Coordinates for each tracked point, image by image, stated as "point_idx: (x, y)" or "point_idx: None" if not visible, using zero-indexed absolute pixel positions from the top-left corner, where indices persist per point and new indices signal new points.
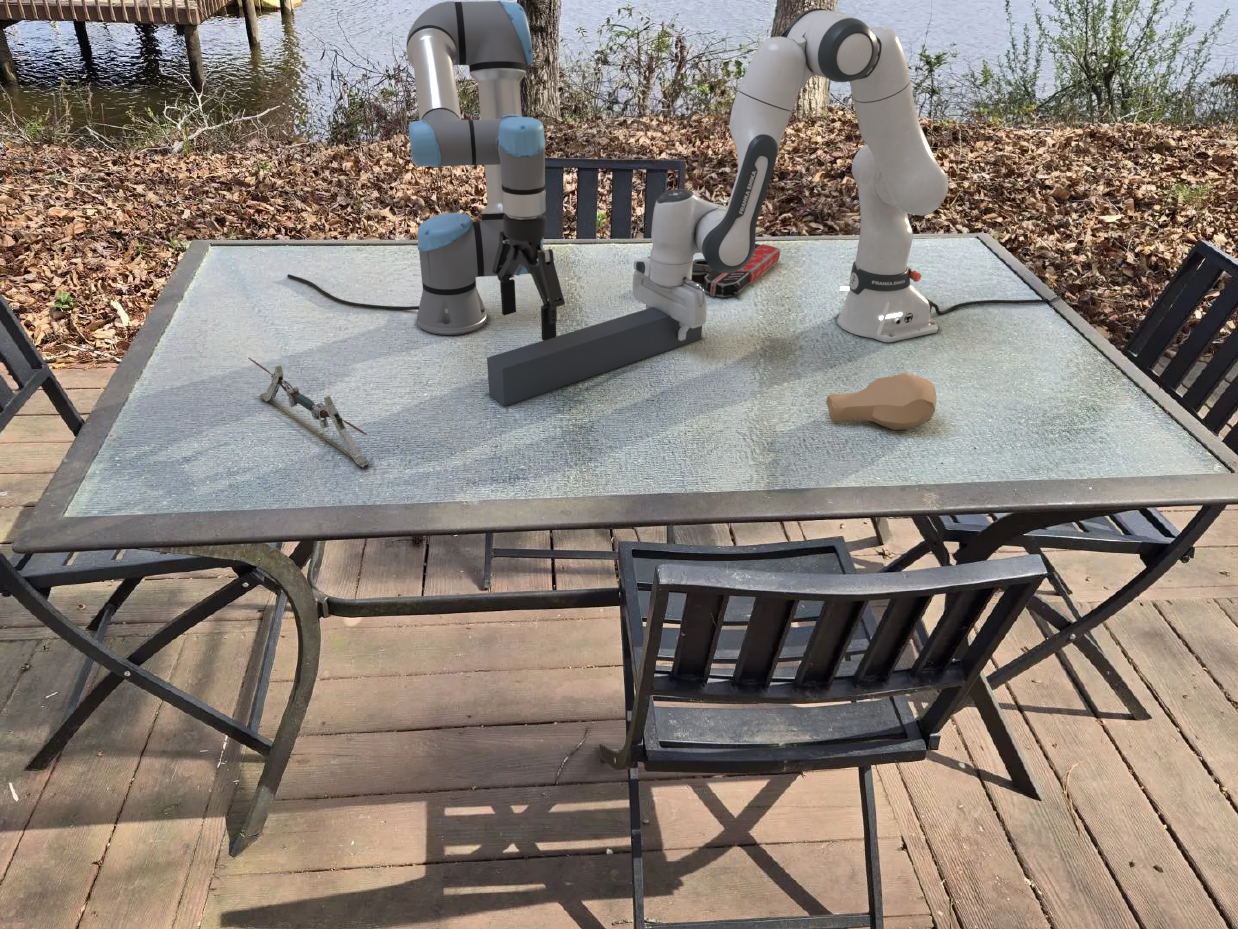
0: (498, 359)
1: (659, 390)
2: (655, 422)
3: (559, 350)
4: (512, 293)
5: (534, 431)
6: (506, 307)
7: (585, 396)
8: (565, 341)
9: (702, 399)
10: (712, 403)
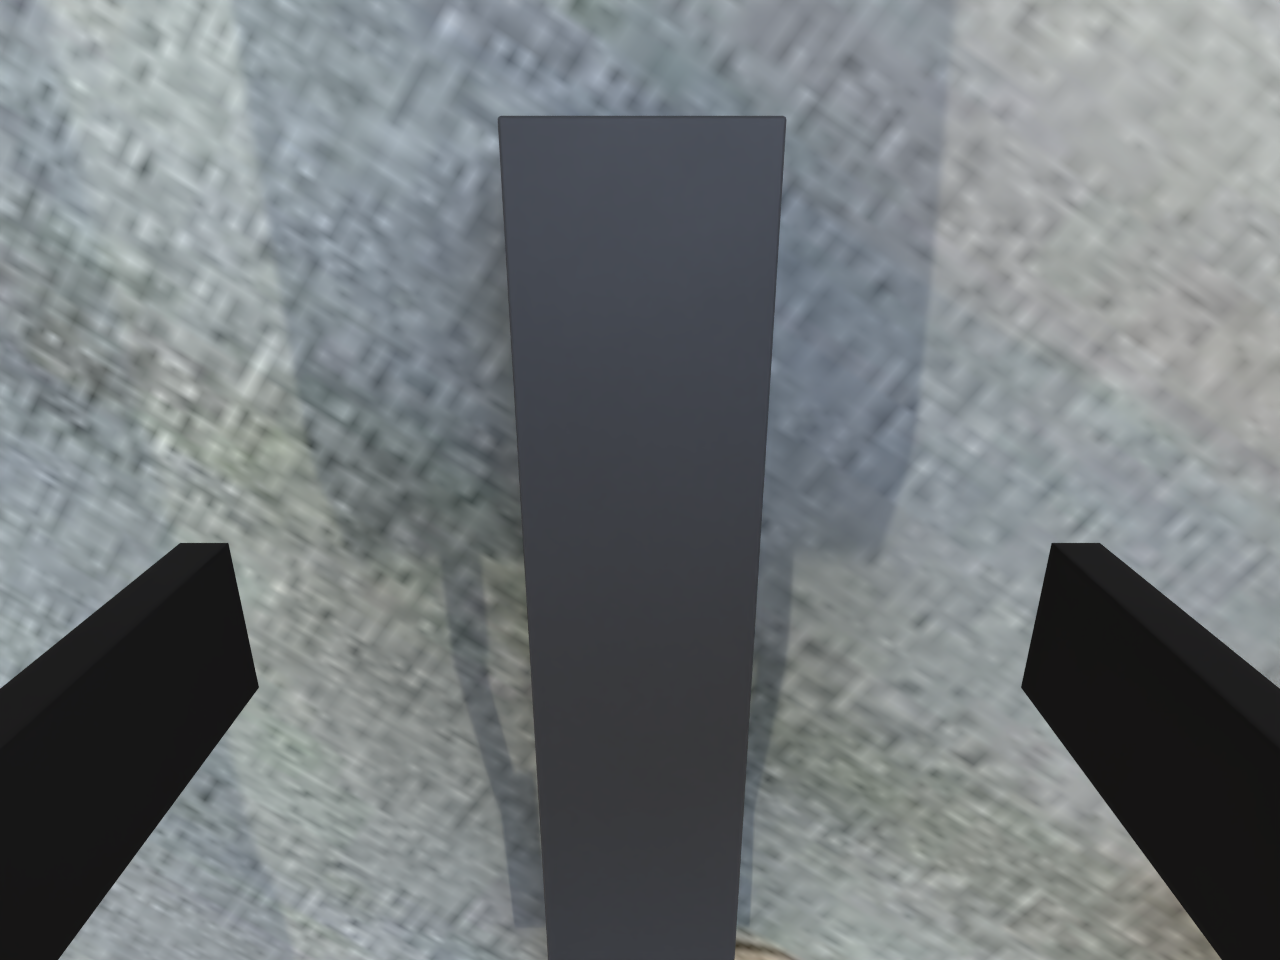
0: (684, 191)
1: (279, 866)
2: None
3: (536, 676)
4: (1181, 847)
5: (167, 119)
6: (1094, 627)
7: (400, 586)
8: (636, 777)
9: (122, 943)
10: (73, 951)
